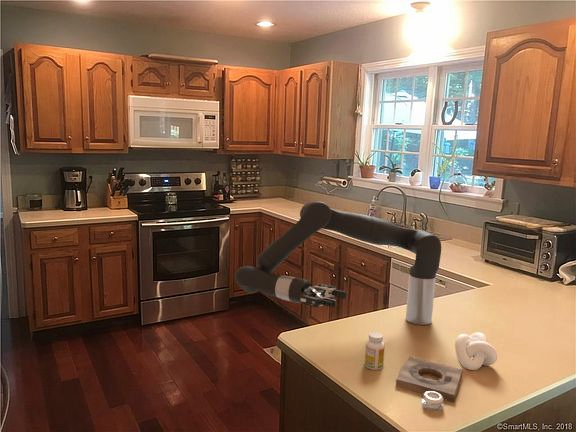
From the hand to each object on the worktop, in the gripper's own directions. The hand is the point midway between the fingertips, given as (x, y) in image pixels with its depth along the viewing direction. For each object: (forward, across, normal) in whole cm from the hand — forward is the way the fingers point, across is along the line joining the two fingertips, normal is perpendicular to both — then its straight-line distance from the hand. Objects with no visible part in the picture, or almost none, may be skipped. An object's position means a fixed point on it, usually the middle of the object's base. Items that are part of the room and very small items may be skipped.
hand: (341, 299), depth 136 cm
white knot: (+36, +16, +18) cm, 44 cm away
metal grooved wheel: (+30, -12, +18) cm, 37 cm away
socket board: (+27, 0, +18) cm, 33 cm away
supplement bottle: (+11, 0, +18) cm, 22 cm away
